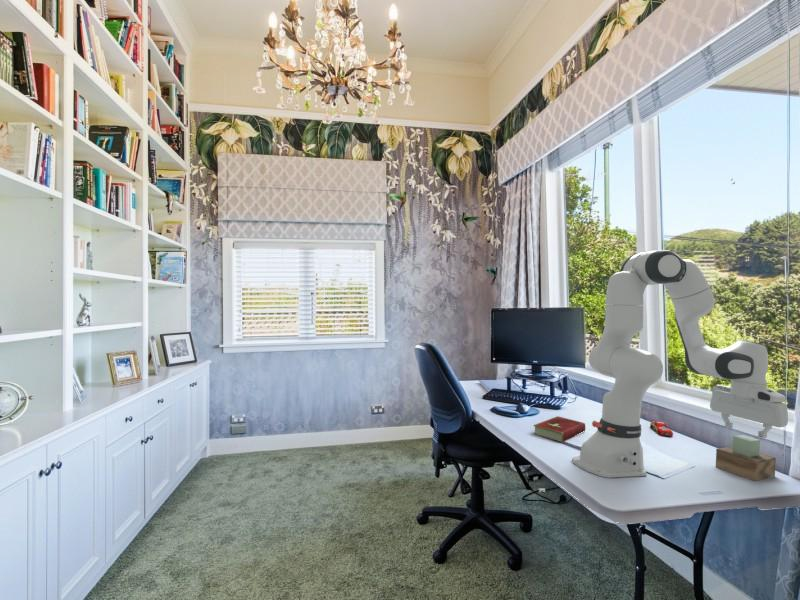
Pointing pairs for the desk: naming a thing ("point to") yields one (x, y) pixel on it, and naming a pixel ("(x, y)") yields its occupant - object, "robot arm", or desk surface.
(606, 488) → the desk surface
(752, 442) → the cube
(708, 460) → the desk surface
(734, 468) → the block
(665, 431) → the race car
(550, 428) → the hardcover book
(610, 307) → the robot arm
